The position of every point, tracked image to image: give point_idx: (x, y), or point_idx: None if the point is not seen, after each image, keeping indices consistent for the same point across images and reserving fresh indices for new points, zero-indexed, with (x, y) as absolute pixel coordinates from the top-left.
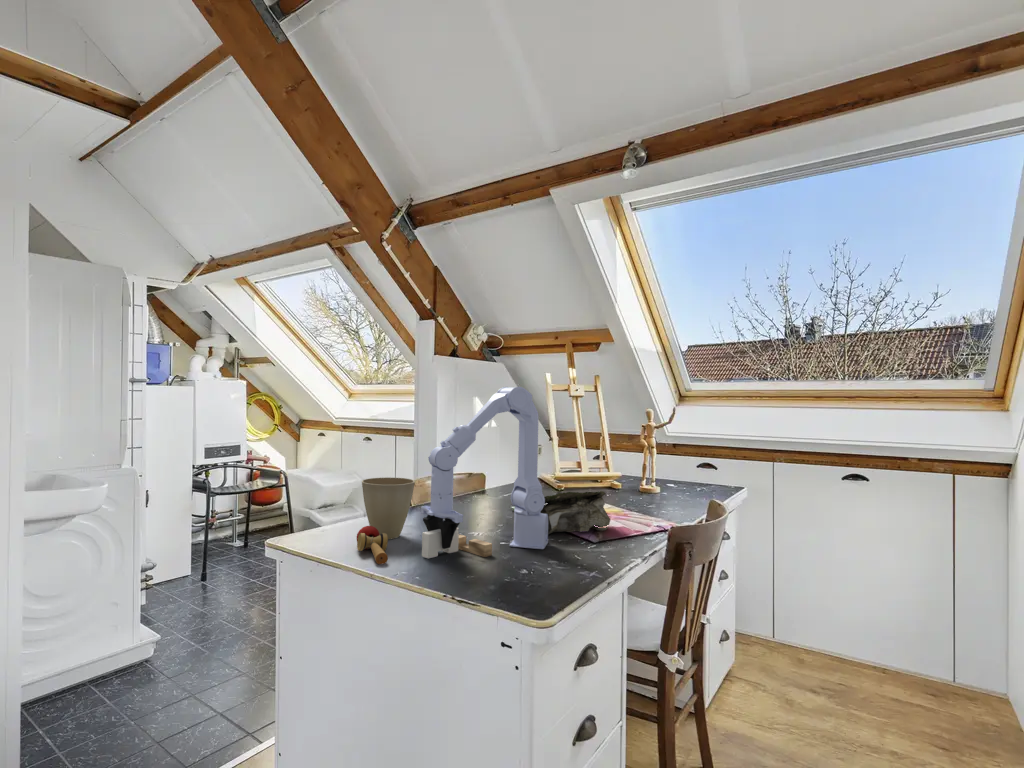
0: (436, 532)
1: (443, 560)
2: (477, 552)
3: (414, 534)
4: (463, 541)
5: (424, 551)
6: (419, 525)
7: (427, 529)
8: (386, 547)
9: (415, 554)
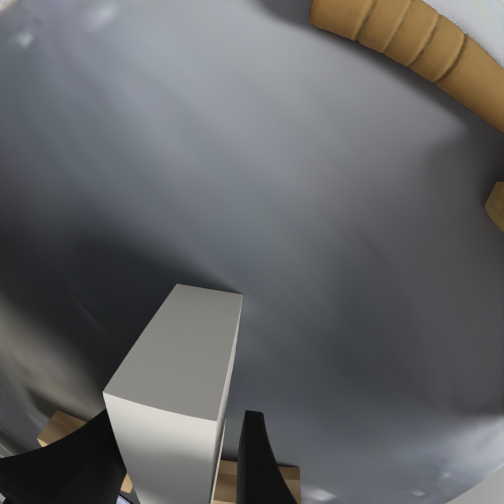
0: (129, 458)
1: (96, 306)
2: None
3: (467, 451)
4: None
5: (208, 309)
6: (475, 481)
7: (286, 491)
8: (490, 206)
9: (310, 301)
